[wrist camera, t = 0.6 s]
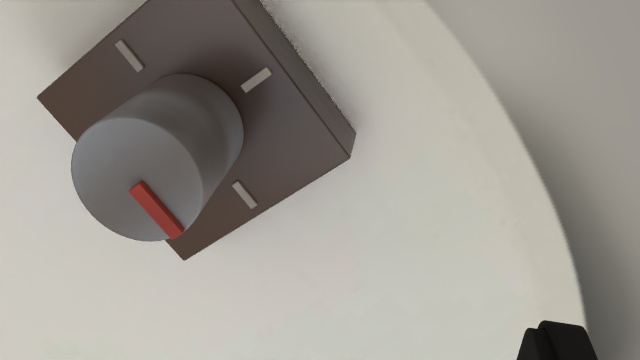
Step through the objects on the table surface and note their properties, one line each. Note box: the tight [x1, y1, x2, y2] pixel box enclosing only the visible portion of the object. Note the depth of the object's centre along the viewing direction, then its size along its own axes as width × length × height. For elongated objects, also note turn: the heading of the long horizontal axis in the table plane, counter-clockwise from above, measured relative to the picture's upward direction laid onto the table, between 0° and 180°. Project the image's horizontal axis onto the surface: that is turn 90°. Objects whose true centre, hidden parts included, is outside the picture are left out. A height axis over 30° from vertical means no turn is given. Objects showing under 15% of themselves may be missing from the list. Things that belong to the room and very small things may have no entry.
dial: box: [71, 74, 244, 241], centre depth 23 cm, size 5×5×6 cm
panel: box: [37, 0, 356, 260], centre depth 26 cm, size 10×10×3 cm
